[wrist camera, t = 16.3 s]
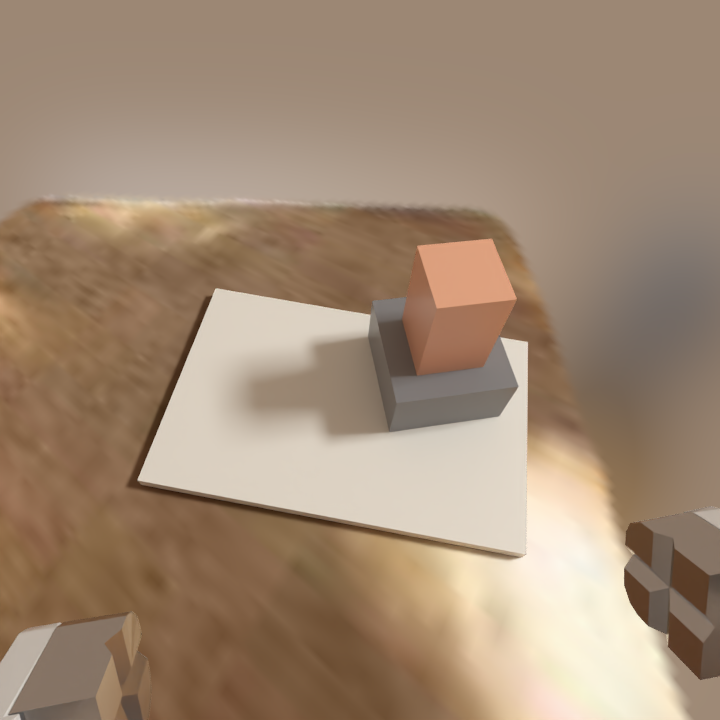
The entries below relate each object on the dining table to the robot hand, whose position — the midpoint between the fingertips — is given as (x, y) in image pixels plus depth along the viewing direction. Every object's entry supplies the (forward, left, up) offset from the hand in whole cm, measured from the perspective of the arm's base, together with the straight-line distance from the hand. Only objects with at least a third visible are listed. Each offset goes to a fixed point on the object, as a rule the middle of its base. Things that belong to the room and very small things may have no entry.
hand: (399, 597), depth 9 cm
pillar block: (+3, +21, -23) cm, 32 cm away
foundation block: (+3, +21, -28) cm, 36 cm away
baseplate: (-3, +17, -29) cm, 34 cm away
